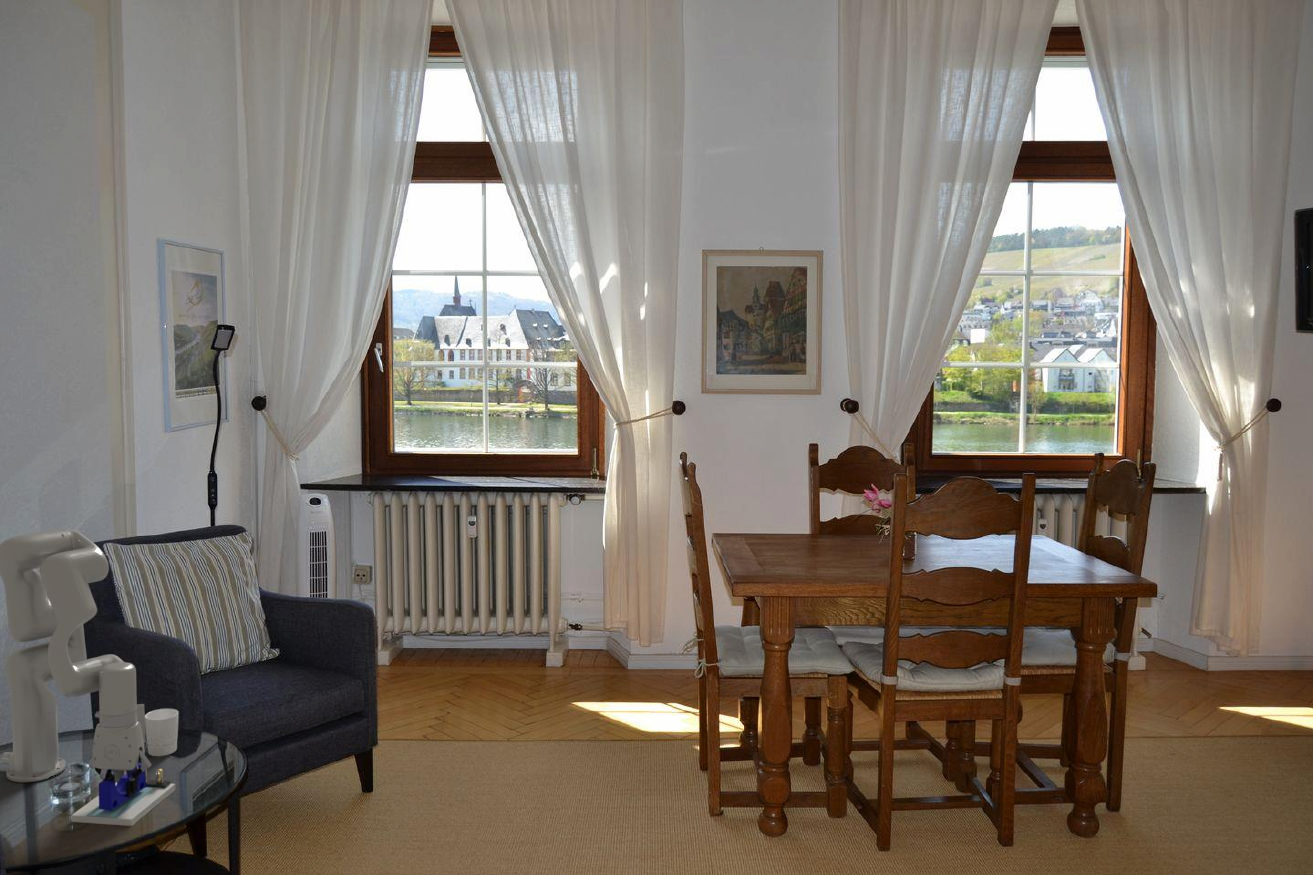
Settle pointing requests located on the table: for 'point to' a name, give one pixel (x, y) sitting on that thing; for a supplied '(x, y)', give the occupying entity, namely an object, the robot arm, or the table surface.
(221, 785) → the table surface
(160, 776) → the coat peg rack
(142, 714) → the grey box
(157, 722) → the white cup
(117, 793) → the blue curved stepped piece
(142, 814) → the board
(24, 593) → the robot arm
